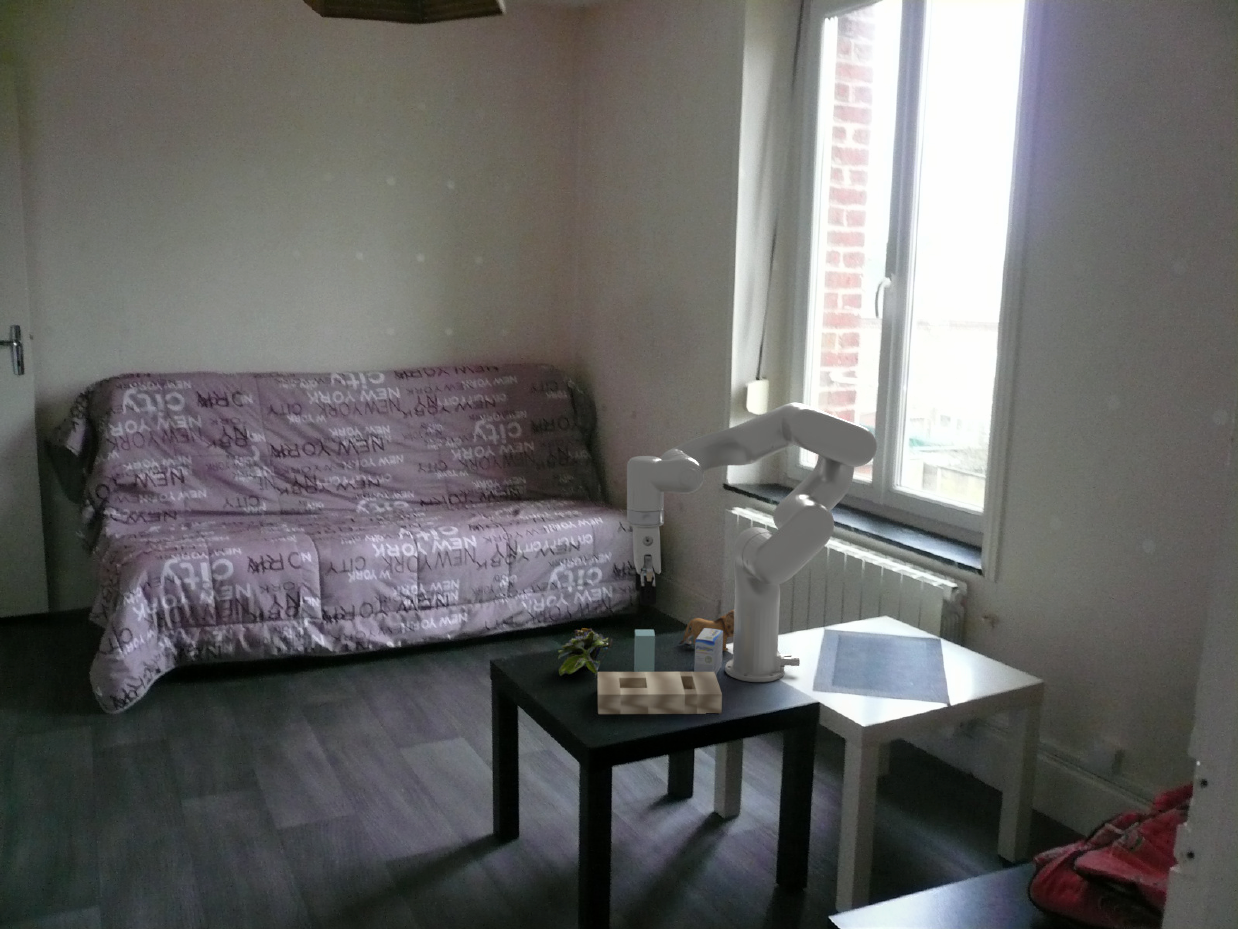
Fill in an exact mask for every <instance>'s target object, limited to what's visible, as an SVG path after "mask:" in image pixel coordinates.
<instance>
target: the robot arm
mask: <svg viewBox="0 0 1238 929" xmlns="http://www.w3.org/2000/svg"><path fill="white" fill-rule="evenodd" d="M877 444H878V443H877V440H876V438H875V435H874V434H873V433H872V431H871V430H870V429H869V428H867V427H864V426H862V425H859V424H856V423H854V422H851V421H848V420H845V419H843V418H840V417H837V416H834V415H832V414H830V413H827V412H825V411H822V410H820V409H819V408H816V407H813V406H809V405H806V404H804V403H800V402H788V403H786V404H783V405H780V406H778V407H776V408H774V409H772V410H770V411H767V412H764V413H762V414H761V415H757V416H756V417H754V418H751V419H749V420H747V421H744V422H743V423H739V424H737V425H735V426H732V427H728V428H724V429H721V430H718V431H716V432H715V431H714V432H711V433H708V434H704V435H702V436H698V437H695V438H692V439H690V440H687V441H685V442H683V443H681V444H679V445H677V446H674V447H672V448H671V449H669V450H667V451H665V452H664V453H662V455H661V456H660V457H657V456H652V455H639V456H633V457H631V458H630V459H629V460H628V462H627V464H626V492H627V493H626V517H627V518H626V520H627V521H626V524H627V525H628V526H629V527H632V552H633V553H632V554H633V562H634V563H633V564H634V567H635V590H636V591H637V592H639V604H640V605H641V606H647V605H649V606H650V605H656V604H657V585H656V577H655V576H656V575H655V573H656V574H658V575H660V573H662V568H661V567H662V566H661V561H662V560H661V534H660V532H661V531H660V527H661V526H663V525H664V523H665V511H664V510H665V509H664V508H665V506H664V505H665V504H664V503H665V502H664V500H665V493H671V494H672V493H673V494H681V495H683V494H685V495H686V494H691V493H694V492H696V491H697V490H699V489H700V488H701V487H702V485H703V484H704V482H705V471H709V470H711V469H715V468H719V467H725V466H739V467H740V466H745V465H753V464H754V463H757V462H759V461H762V460H763V459H766V458H768V457H771V456H772V455H775V454H777V453H779V452H781V451H784V450H787V449H788V448H790V447H793V446H796V447H799V448H801V449H804V450H806V451H808V452H810V453H813V454H817V455H818V457H817V461H816V464H815V466H814V467H813V469H812V471H811V472H810V473H809V474H808V475H807V476H806V478H805V479H804V480H802V481H801V482H800V483H799V484H798V485H797V486H796V487H795V488H794V489H793V490H792V491H790V492H789V493H788V494H787V496H785V497H784V498H783V499H782V500H781V501H780V502H779V503H778V504H777V505H776V507H775V509H774V512H773V517H772V518H773V519H772V521H773V523H774V526H775V527H776V529H777V530H776V531H775V532H774V533H773V532H772V531H770V530H768V529H767V528H763V527H758V526H757V527H756V526H754V527H753V526H752V527H749V528H746V529H744V530H743V531H742V532H740V533H739V535H738V536H737V537H736V539H735V541H734V544H733V549H732V562H733V563H732V564H733V573H734V603H733V604H734V607H733V610H734V636H733V640H732V643H733V644H732V659H730V660H729V661H727V662H725V665H724V667H725V668H724V670H725V672H726V674H727V675H728V676H730V677H732V678H734V679H736V680H739V681H742V682H743V681H744V682H751V683H767V682H774V681H776V680H779V679H781V678H782V677H783V676H784V675H785V668H786V666H790V667H799V666H800V665H801V663H800V657H799V656H792V654H791V653H785V654H783V653H782V654H781V653H780V651H779V647H778V646H779V628H780V627H779V624H780V623H779V622H780V603H781V586H780V584H783V583H785V582H786V581H788V580H790V579H791V578H793V577H794V575H796V574H797V573H798V572H799V571H801V569H803V567H804V566H805V565H807V564H808V563H809V562H810V561H811V560H812V559H813V558H814V557H815V556H816V555H817V554H818V553H819V552H820V551H821V550H822V549H823V548H825V546H826V545H827V543H828V542H829V541H830V539H831V537H832V536H833V533H834V529H835V521H834V517H833V514H832V512H831V511H832V510H833V509H834V508H835V506H837V504H838V503H839V502H840V501H841V500H842V499H843V498H844V497H845V496H846V494H847V492H848V491H849V490H850V487H851V485H852V483H853V480H854V475H855V474H854V473H855V468H858V467H862V466H865V465H867V464H869V463H870V462H871V461H872V460H873V459H874V457H875V455H876V453H877V448H878V447H877V446H878V445H877Z"/></svg>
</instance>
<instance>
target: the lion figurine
mask: <svg viewBox="0 0 1238 929" xmlns="http://www.w3.org/2000/svg"><path fill="white" fill-rule="evenodd" d="M690 628H691V629H690ZM704 628H710V629H717V630H722V631H723V649H722V651H723V652H728V651H729V649H728V647H727V642H728V638H732V637H733V636H734V609H732V610H729V611H728V612H727V613H726V614H724V615H722V616H720V617H719V618H717V619H715V620H709V619H708V620H707V619H703V618H702V617H701V618H700V617H695V618H693V619H691V620H690V621H689V622H688V623H687V626H686V628H685V632H684V636H683V638H682V640H680V641H679V643H678V645H680V646H681V645H683V643H684V642H685V643H686V644H688V645H691V644H692V643H693V645H694V646H695V640H696V638H697V637H698V636H699V634H700V633H701V632H702V630H703V629H704ZM692 637H693V639H692V641H691V640H690V638H692Z"/></svg>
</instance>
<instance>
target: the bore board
mask: <svg viewBox="0 0 1238 929" xmlns="http://www.w3.org/2000/svg"><path fill="white" fill-rule="evenodd" d="M596 676H597V677H596V678H597V679H596V680H597V681H596V682H597V687H596V688H597V689H596V690H597V713H598V715H673V714H674V715H682V714H683V715H690V714H691V715H694V714H698V715H699V714H700V715H701V714H702V715H703V714H705V715H706V713H719V714H720V715H721V714H722V710H723V708H722V704H723V693H722V690H721V687H720V684H719V682H718V678H717V675H715V672H694V671H654V672H634V671H597V675H596ZM719 714H718V715H719Z"/></svg>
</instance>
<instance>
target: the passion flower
mask: <svg viewBox="0 0 1238 929" xmlns="http://www.w3.org/2000/svg"><path fill="white" fill-rule="evenodd" d="M574 633H575V634H574V635H575V638H573V637H571V638H570V640H569V639H568V640H567V641H568V642H566V643H565V645H562V646H561V648H563V649H561V650H558V651H557V652H558V653H559V655H558V658H557V659H558V660H560V659H561V658H562V657H565V656H566V655H567V658H565V660H564V662H563V663H562V665H561V666H560V667H559V669H558V674H559V676H560V677H562V676H563V675H564V674H567V675H571V674H574V673H575V672H577V671H578V670H579V669H581V668H582V667H584V666H586V667H587V669H588V670H589V671H591V672H592V673H593V674H594V676H593V679H594V678H595V679H596V678H597V677H596V676H598V672H599V671H598V670H599V668H600V666H601V663H602V660H603V658H604V657H605V656H606V654H607V653H608V652H609V651H610V648H611V647H612V646H613V645H614V644H613V643H614V640H613V638H611V639H610V638H609V637H606V638H605V637H604V634H602V633H599V634H598V632H595V631H594V630H593V629H592V628H585V627H584V628H583V627H582V628H581V630H580V629H575V630H574ZM600 652H604V653H603V654H602V656H601V657H600V658H599V659H598V655H599V654H600ZM597 659H598V660H597Z"/></svg>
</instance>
